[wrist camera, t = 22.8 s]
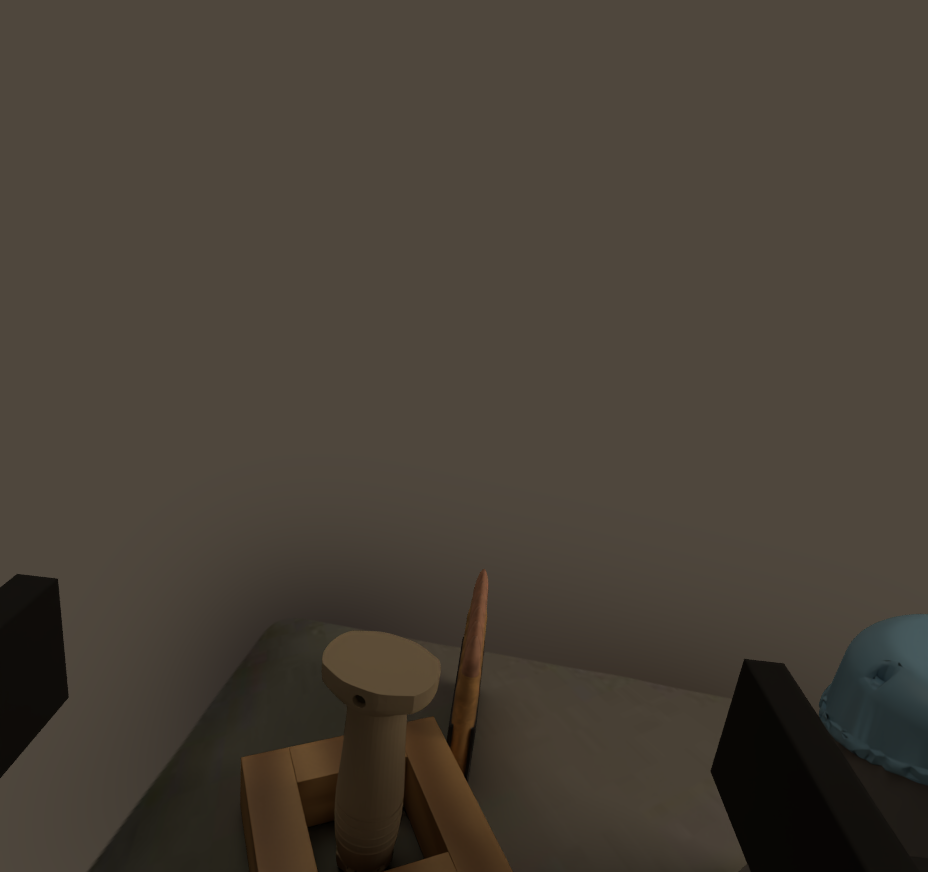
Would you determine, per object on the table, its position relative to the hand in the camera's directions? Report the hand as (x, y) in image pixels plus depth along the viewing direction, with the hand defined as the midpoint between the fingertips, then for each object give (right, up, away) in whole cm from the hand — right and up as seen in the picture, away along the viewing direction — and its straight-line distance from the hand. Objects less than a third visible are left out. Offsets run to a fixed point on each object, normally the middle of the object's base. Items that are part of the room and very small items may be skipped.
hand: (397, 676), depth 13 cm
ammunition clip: (+1, -19, +40) cm, 44 cm away
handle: (-5, -22, +28) cm, 36 cm away
